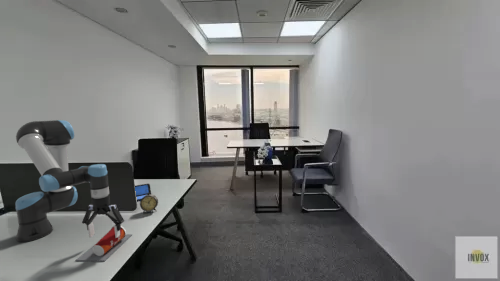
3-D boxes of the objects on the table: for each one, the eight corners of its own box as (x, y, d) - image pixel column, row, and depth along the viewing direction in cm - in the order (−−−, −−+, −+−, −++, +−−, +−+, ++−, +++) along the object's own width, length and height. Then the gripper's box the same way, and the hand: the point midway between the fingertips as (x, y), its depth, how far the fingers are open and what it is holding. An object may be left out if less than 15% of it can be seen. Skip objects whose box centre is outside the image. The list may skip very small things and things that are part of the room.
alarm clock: (140, 213, 152) (138, 190, 150) (143, 210, 157) (141, 188, 155) (157, 212, 153) (155, 189, 151) (159, 209, 159) (157, 186, 157)
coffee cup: (109, 251, 105) (130, 231, 120) (96, 239, 105) (118, 221, 119) (100, 261, 107) (121, 240, 122) (86, 249, 107) (109, 230, 121)
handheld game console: (131, 203, 171) (130, 191, 170) (129, 197, 183) (128, 186, 181) (153, 198, 180) (152, 187, 179) (150, 193, 191) (149, 182, 190)
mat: (75, 261, 104) (75, 260, 104) (107, 235, 126) (107, 234, 126) (104, 261, 103) (104, 260, 103) (132, 235, 125) (132, 234, 125)
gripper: (70, 198, 108) (75, 239, 111) (120, 199, 107) (124, 240, 110) (82, 193, 116) (87, 231, 119) (129, 193, 114) (133, 232, 117)
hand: (104, 236), depth 114 cm, fingers open, 13 cm apart
